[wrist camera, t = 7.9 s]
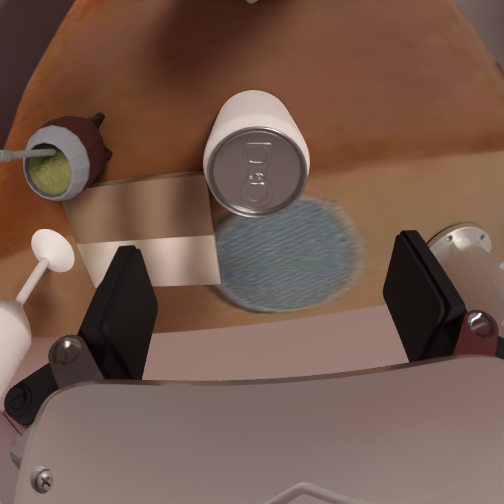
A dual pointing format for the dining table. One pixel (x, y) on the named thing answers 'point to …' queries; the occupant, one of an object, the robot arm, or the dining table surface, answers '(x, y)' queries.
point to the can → (255, 156)
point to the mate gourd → (63, 157)
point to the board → (149, 227)
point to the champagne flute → (11, 312)
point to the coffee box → (251, 1)
